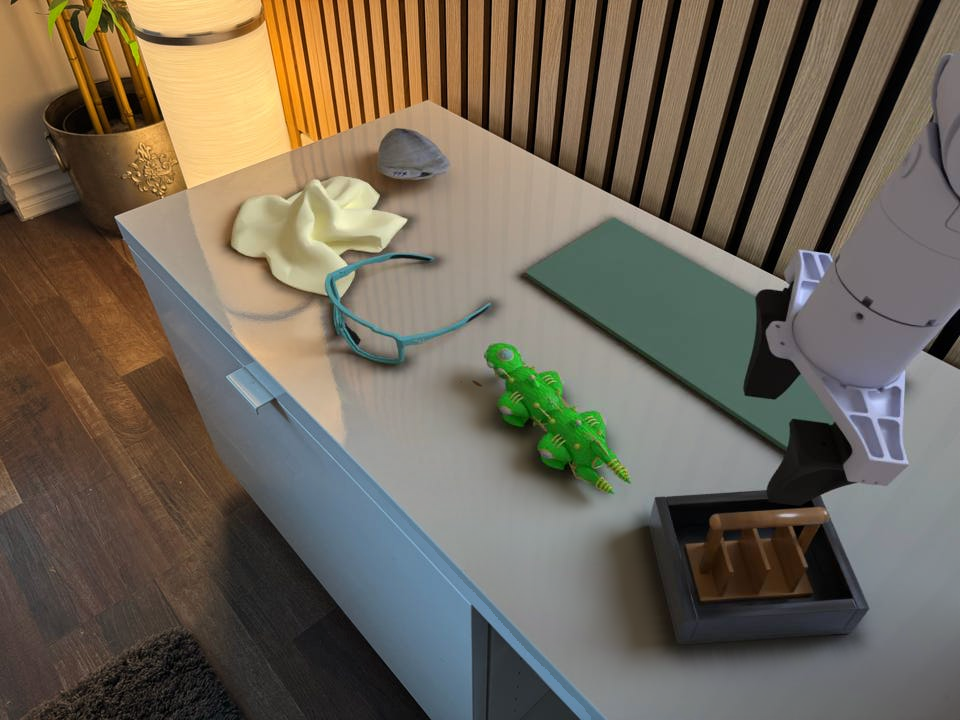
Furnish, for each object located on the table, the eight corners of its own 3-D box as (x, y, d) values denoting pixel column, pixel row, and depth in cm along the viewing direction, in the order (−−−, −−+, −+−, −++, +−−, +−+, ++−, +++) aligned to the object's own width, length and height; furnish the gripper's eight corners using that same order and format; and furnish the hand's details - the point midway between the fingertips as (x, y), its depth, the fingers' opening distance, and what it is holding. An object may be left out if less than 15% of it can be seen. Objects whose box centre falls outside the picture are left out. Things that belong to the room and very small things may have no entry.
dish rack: (790, 539, 56) (819, 481, 51) (812, 595, 53) (845, 540, 48) (684, 546, 56) (701, 489, 51) (699, 603, 53) (719, 549, 48)
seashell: (357, 164, 96) (351, 128, 93) (413, 143, 100) (409, 108, 96) (405, 207, 90) (400, 170, 86) (463, 183, 93) (461, 146, 89)
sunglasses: (303, 310, 77) (297, 270, 74) (422, 262, 84) (422, 223, 81) (379, 388, 69) (376, 347, 66) (503, 327, 77) (506, 288, 73)
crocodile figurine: (520, 352, 72) (520, 319, 69) (651, 479, 61) (657, 447, 58) (462, 382, 70) (459, 349, 67) (588, 520, 59) (591, 489, 56)
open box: (803, 514, 59) (817, 486, 56) (851, 633, 52) (870, 608, 49) (648, 524, 59) (654, 496, 56) (677, 645, 52) (686, 620, 49)
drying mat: (899, 382, 68) (901, 378, 67) (812, 469, 62) (814, 465, 61) (613, 221, 86) (614, 217, 86) (524, 276, 80) (524, 271, 80)
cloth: (209, 218, 89) (193, 172, 85) (349, 166, 96) (341, 121, 92) (287, 321, 76) (273, 274, 72) (442, 253, 83) (438, 206, 79)
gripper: (781, 178, 40) (691, 345, 50) (855, 392, 31) (726, 545, 41) (907, 197, 41) (792, 359, 51) (1018, 414, 31) (850, 559, 41)
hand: (770, 443), depth 46 cm, fingers open, 7 cm apart
